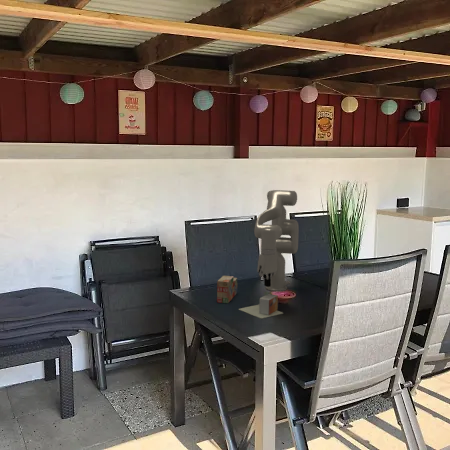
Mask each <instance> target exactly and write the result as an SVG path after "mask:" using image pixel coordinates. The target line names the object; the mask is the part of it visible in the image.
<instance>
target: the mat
mask: <svg viewBox="0 0 450 450" xmlns="http://www.w3.org/2000/svg"><path fill="white" fill-rule="evenodd" d="M238 310H239V311H241V312H244V313H246V314H248V315H251V316H252V317H253V316H254V317H256V318H258V319H261V320H262V319H266V318H270V317H274V316H279V315H283V314H284V312H283V311H279V310H277V311H275V312H273V313H271V314H270V315H266V314H261V313H259V304H256V305H251V306H245V307H242V308H241V307H240V308H238Z"/></svg>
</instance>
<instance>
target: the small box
mask: <svg viewBox="0 0 450 450" xmlns="http://www.w3.org/2000/svg"><path fill="white" fill-rule="evenodd" d="M278 298H279V295H277V294H272V293H267V294H265V295H264V296H261V297H260V298H259V303H258V305H259V313H261V314H266V315H270V314H271V313H273V312H275V311H278V307H279V306H278V302H279V301H278Z"/></svg>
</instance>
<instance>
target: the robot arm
mask: <svg viewBox="0 0 450 450" xmlns="http://www.w3.org/2000/svg"><path fill="white" fill-rule="evenodd" d="M266 199H267V206H266V210H264V211H263V212H261V213H260V214H259V215H258V217H257V219H256V220H255V224H254V237H256V238H257V239H261V240H260V242H261V243H260V253H259V256H258V261H257V273H259V275H258V276H259V277H263V279H264V281H263V283H264V284H263V285H264V286H265V289H266V290H267V291H272V292H284V291H287V290H288V287H287V285H291V281H290V280H288V281H286V280H285V279H286V259H285V257H284V255H283V254H286V255H287V254H289V255H290V254H291V255H295V254H296V253H297V252H298V250H299V233H300V232H299V228H300V227H299V226H300V225H299V222H298V221H297V220H296V219H293V218H290V219H289V218H287V209H286V207H289V206H290V207H291V206H292V207H294V206H295V205H296V204H297V202H298V194H297V192H296V191H295V190H281V189H276V190H275V189H273V190H269V191H267V193H266ZM270 221H271V224H265V223H267V222H270ZM284 236H289V237H284Z"/></svg>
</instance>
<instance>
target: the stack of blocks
mask: <svg viewBox="0 0 450 450" xmlns="http://www.w3.org/2000/svg"><path fill="white" fill-rule="evenodd" d="M216 286H217V287H216V290H217V291H216V302H217V303H220V304H221V303H222V304H229V303H230V301H232V300H233V298H234V297H236V295H237V294H238V277H234V276H233V275H231V276H230V275H222V276H221V277H220V278H219V279H218V280H217V281H216Z"/></svg>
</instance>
